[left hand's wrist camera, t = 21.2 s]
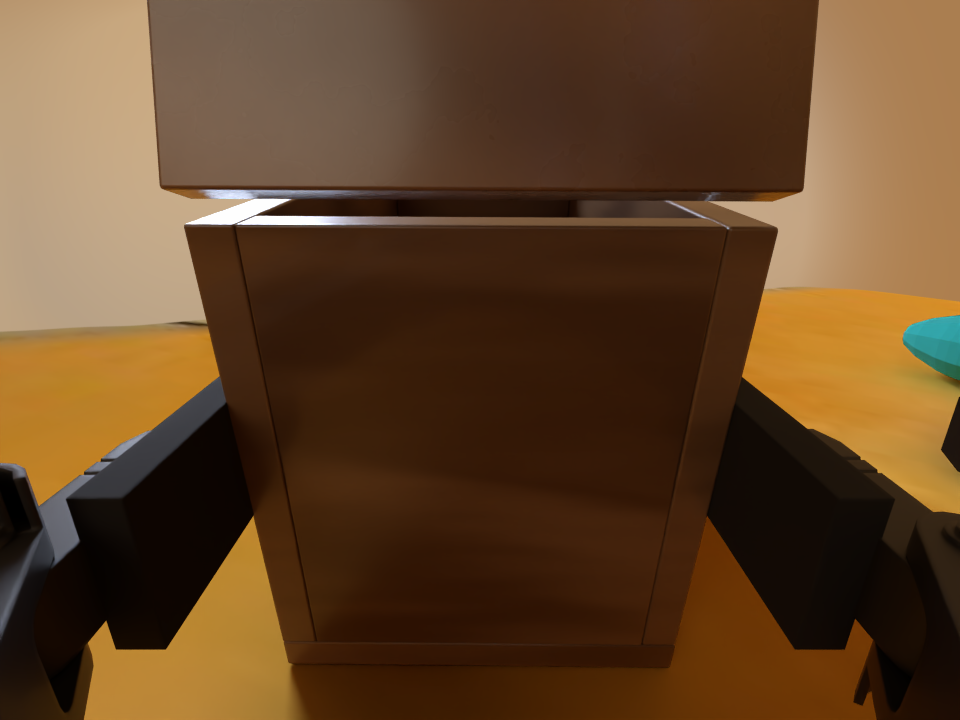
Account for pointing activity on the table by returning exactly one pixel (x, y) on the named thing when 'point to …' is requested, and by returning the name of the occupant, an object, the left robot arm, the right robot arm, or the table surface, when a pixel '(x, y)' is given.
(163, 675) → the table surface
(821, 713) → the table surface
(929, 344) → the toy gun
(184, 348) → the table surface
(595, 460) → the chest
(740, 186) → the lid
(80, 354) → the table surface
